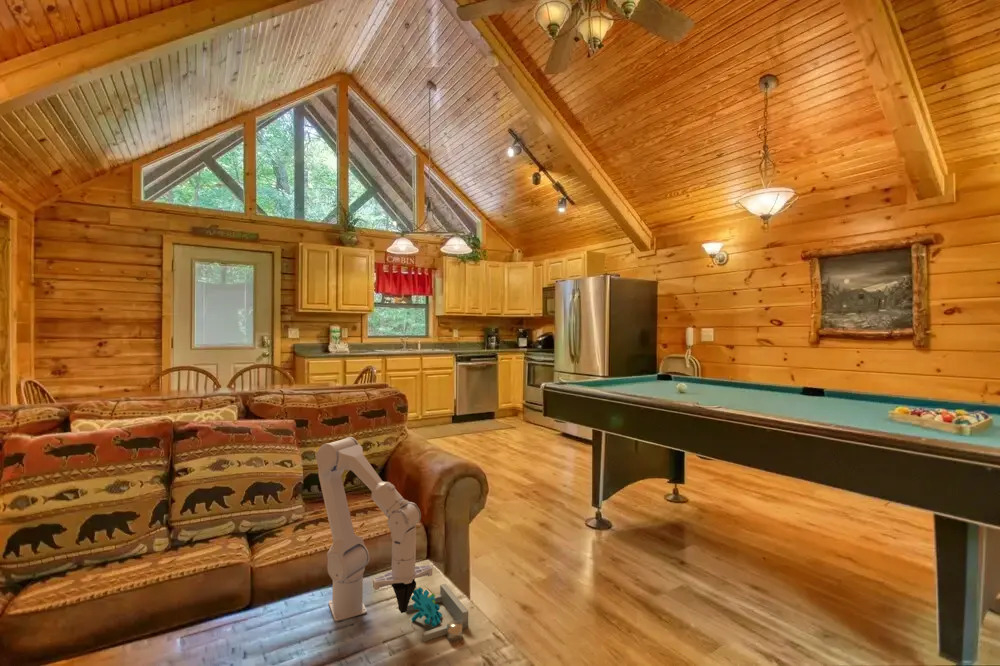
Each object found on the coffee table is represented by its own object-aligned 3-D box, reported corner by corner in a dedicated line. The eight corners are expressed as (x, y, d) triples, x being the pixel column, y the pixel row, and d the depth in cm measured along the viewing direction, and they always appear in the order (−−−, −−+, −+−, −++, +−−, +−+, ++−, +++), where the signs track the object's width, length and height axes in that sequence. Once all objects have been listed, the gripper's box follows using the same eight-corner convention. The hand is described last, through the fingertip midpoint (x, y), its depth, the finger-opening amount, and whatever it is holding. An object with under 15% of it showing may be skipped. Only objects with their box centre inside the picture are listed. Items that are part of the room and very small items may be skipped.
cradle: (404, 609, 124) (404, 594, 124) (445, 598, 130) (445, 583, 130) (424, 641, 112) (424, 624, 112) (468, 627, 117) (468, 611, 117)
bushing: (444, 635, 114) (444, 622, 114) (458, 630, 116) (458, 618, 116) (450, 643, 111) (450, 631, 111) (464, 639, 113) (464, 626, 113)
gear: (435, 630, 113) (410, 595, 116) (418, 646, 114) (392, 611, 116) (449, 610, 124) (425, 578, 126) (433, 625, 124) (409, 593, 127)
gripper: (379, 569, 109) (377, 628, 109) (437, 555, 117) (436, 610, 117) (370, 556, 116) (369, 612, 116) (427, 544, 123) (425, 596, 123)
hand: (402, 610), depth 117 cm, fingers closed
